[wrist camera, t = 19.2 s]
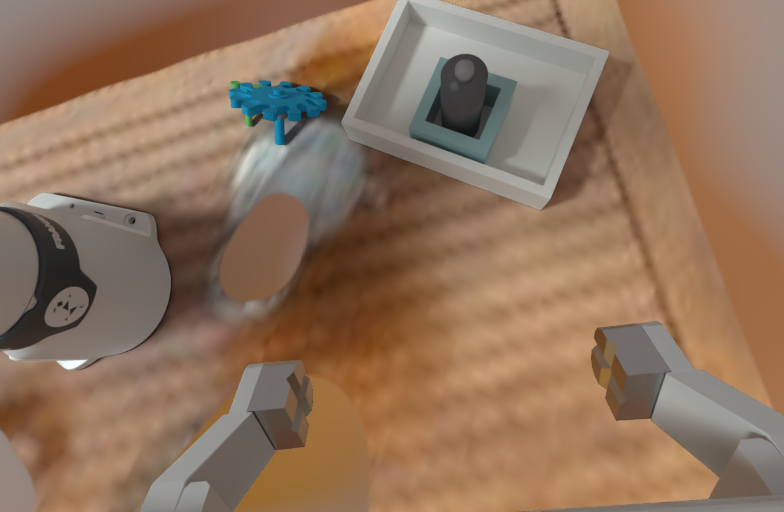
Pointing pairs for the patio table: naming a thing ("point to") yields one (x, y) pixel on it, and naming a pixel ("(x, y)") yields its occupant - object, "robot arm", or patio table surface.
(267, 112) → the gear
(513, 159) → the walled box
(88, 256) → the robot arm
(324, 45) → the patio table surface
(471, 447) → the patio table surface
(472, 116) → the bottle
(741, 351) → the patio table surface
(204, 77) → the patio table surface
